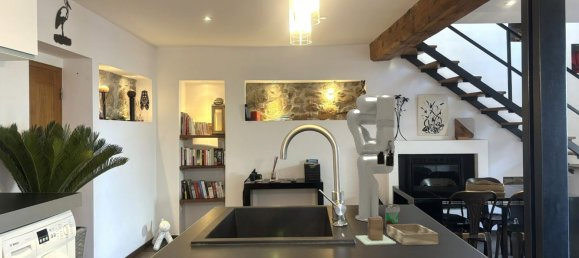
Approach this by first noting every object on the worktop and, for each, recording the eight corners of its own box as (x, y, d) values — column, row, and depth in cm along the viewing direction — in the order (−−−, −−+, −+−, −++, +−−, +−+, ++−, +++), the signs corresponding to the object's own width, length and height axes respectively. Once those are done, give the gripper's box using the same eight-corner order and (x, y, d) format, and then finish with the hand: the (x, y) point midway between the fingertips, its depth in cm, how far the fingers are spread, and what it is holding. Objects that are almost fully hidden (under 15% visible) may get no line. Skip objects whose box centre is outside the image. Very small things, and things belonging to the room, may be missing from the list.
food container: (401, 232, 171) (401, 208, 171) (386, 231, 172) (386, 208, 172) (399, 225, 183) (399, 203, 183) (385, 225, 184) (385, 203, 184)
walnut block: (367, 237, 159) (367, 217, 159) (378, 237, 160) (378, 217, 160) (371, 240, 155) (371, 219, 155) (382, 240, 155) (382, 219, 156)
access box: (386, 234, 167) (386, 224, 167) (417, 233, 169) (417, 223, 169) (404, 245, 150) (404, 234, 150) (438, 244, 152) (438, 233, 153)
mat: (355, 237, 162) (355, 235, 162) (383, 236, 164) (383, 234, 164) (365, 245, 151) (365, 243, 151) (395, 243, 152) (395, 242, 152)
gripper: (369, 125, 179) (369, 163, 179) (384, 124, 162) (384, 166, 162) (385, 125, 180) (385, 163, 180) (402, 124, 163) (402, 166, 163)
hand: (385, 165), depth 171 cm, fingers open, 9 cm apart
